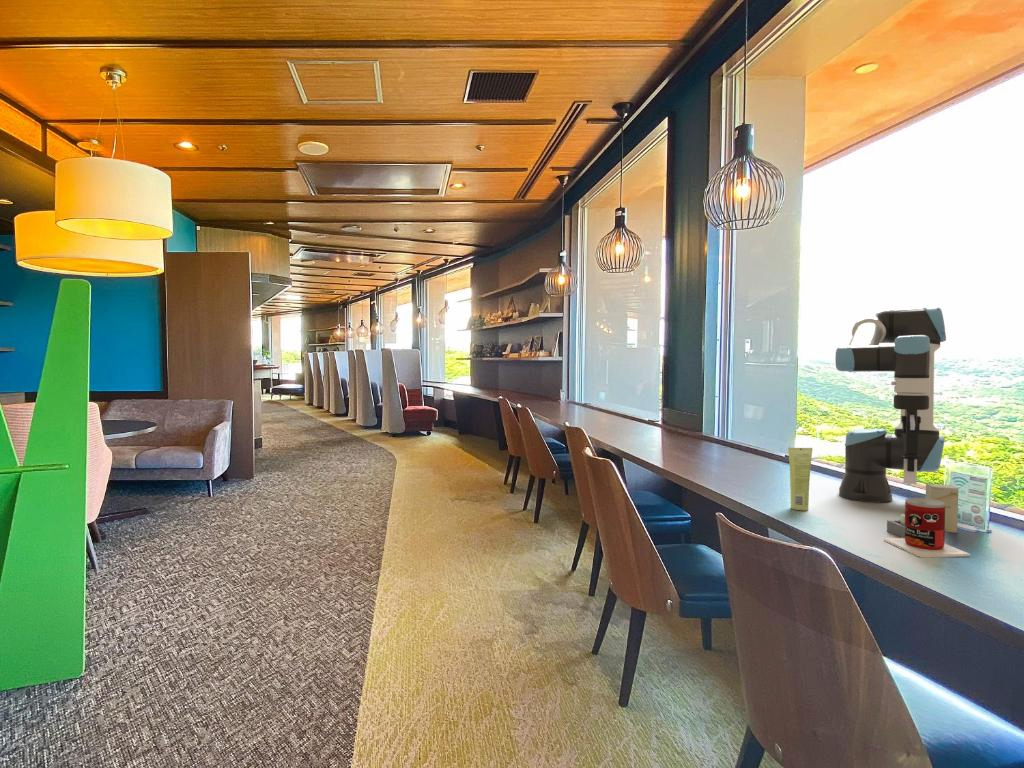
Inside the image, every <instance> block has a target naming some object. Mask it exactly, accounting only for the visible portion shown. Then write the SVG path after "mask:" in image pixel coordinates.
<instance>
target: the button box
mask: <svg viewBox="0 0 1024 768" xmlns="http://www.w3.org/2000/svg"><path fill="white" fill-rule="evenodd" d="M886 532H888V533H889V534H893V535H895V536H897V537H899V536H900V537H899V538H902V537H903V538H905V526H904V525H901V524H900V519H894V520H892V519H891V520H890V519H889V520H886Z"/></svg>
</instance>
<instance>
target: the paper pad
mask: <svg viewBox="0 0 1024 768" xmlns="http://www.w3.org/2000/svg"><path fill="white" fill-rule="evenodd" d="M882 540H884V541H883V542H885V541H886V542H885V543H887V542H888V544H889V543H890V545H892V546H894V545H895V546H894V547H896V546H897V547H896V548H898V547H900V548H899V549H901V548H902V549H901V550H903V549H904V550H903V551H905V550H906V551H905V552H907V551H909V552H911V553H910V554H912V553H913V554H912V555H914V554H915V555H914V556H916V555H917V557H918V556H920V557H919V558H948V557H949V558H955V557H957V558H958V557H971V553H969V552H966V551H964V550H961V549H958V548H956V547H953V546H951V545H949V544H946V543H944V547H943V549H940V550H927V549H920V548H916V547H913V546H910V545H908V544H907V543H906V541H905V538H902V537H895V538H894V537H890V538H883V539H882ZM909 552H908V553H909Z"/></svg>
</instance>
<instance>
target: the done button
mask: <svg viewBox="0 0 1024 768" xmlns="http://www.w3.org/2000/svg"><path fill="white" fill-rule="evenodd" d="M899 520H900V524H901V525H904V526H905V513H903V514H900V518H899Z"/></svg>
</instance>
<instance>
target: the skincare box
mask: <svg viewBox="0 0 1024 768" xmlns="http://www.w3.org/2000/svg"><path fill="white" fill-rule="evenodd" d="M925 498H927V499H934V500H938V501H941V502H943V503H945V532H946V533H958V516H959V511H958V510H959V488H958V487H957V486H954V485H952V484H939V483H938V484H935V483H925Z"/></svg>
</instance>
